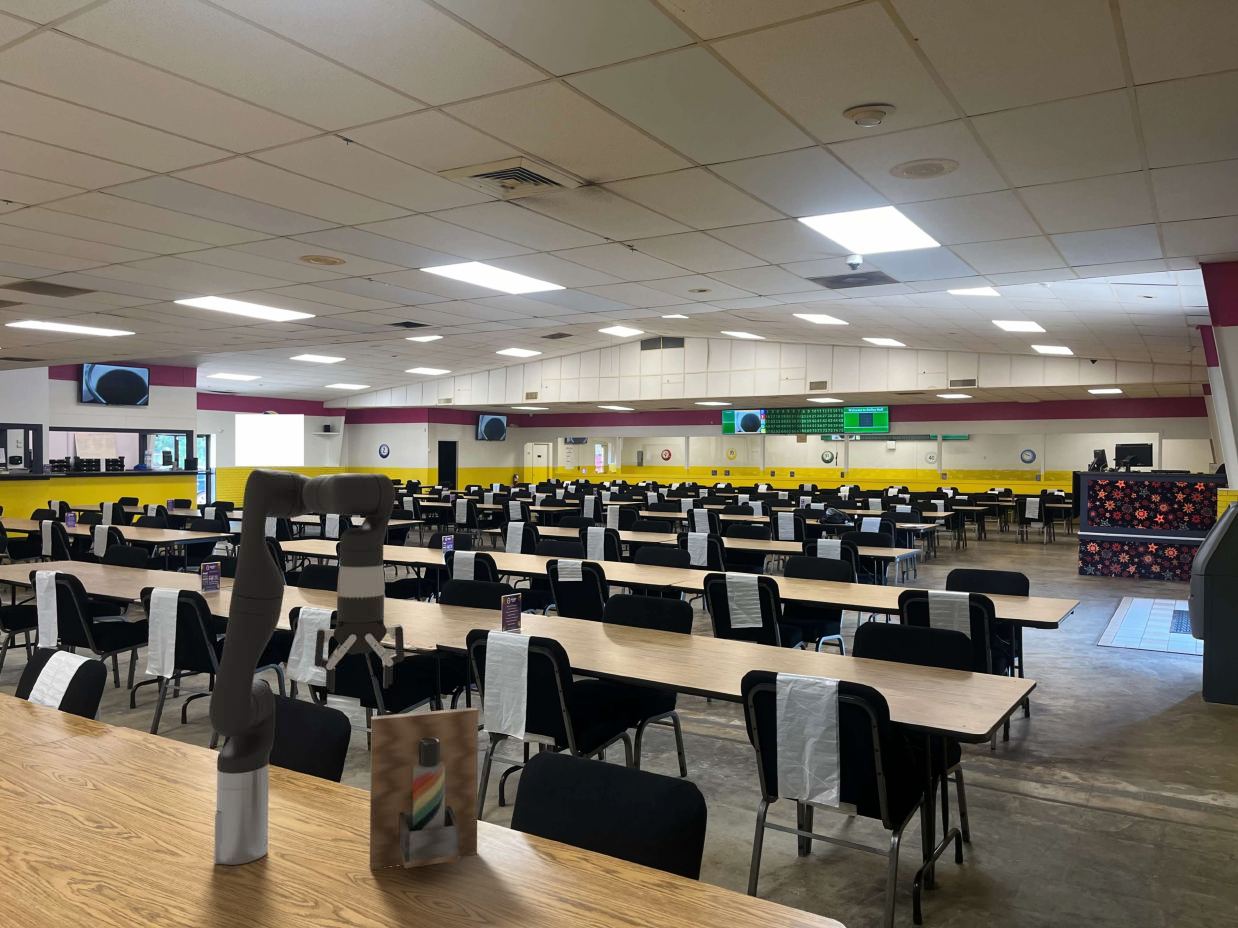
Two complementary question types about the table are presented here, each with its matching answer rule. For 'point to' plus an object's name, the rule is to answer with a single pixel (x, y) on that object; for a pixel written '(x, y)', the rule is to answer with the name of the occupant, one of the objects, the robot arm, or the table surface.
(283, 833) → the table surface
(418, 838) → the bracket
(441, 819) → the lotion bottle
